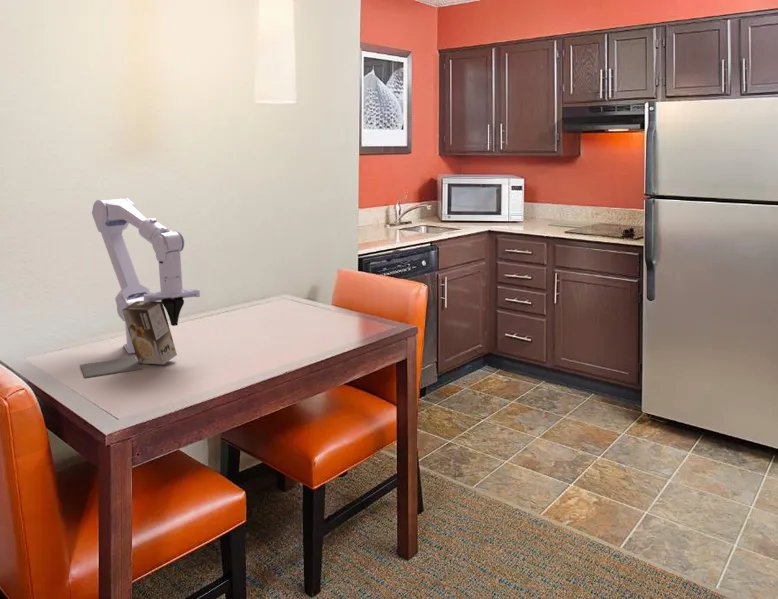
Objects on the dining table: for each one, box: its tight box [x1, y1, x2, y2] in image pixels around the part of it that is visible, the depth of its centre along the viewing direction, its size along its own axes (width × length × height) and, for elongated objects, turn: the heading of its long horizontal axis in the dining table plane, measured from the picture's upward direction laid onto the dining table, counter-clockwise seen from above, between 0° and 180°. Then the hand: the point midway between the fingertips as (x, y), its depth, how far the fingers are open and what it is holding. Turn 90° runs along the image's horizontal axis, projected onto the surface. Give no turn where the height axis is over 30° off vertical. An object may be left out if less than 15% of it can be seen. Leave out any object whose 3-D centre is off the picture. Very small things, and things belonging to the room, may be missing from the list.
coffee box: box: [122, 300, 178, 365], centre depth 185 cm, size 9×6×16 cm
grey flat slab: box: [80, 356, 143, 379], centre depth 183 cm, size 11×14×1 cm
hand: (174, 324), depth 188 cm, fingers closed
